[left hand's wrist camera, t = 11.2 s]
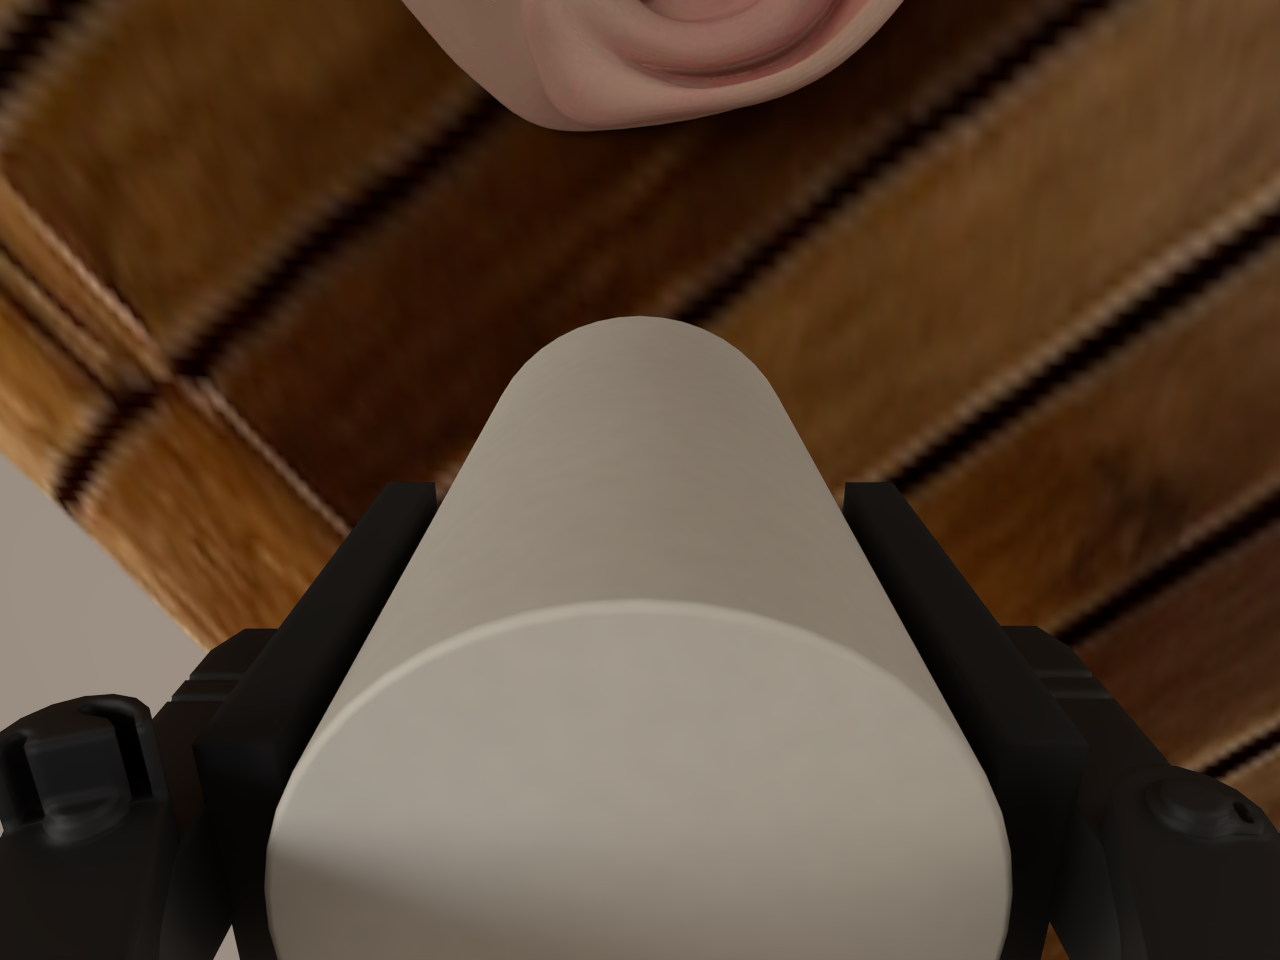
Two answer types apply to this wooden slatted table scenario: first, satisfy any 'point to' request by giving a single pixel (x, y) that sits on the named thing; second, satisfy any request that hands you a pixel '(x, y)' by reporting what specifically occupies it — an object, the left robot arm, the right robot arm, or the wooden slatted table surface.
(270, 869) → the canister
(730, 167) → the wooden slatted table surface
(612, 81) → the anatomical model
